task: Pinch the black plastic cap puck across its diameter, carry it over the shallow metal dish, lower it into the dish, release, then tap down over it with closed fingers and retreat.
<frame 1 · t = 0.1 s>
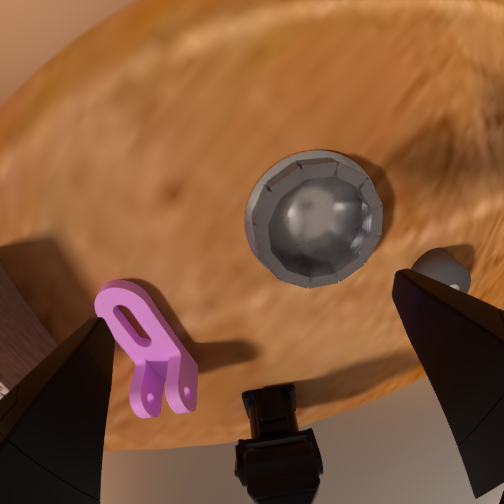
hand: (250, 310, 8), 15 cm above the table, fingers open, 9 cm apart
cap: (429, 272, 27), on the table
bracket: (145, 329, 28), on the table
shallow metal dish: (315, 219, 23), on the table
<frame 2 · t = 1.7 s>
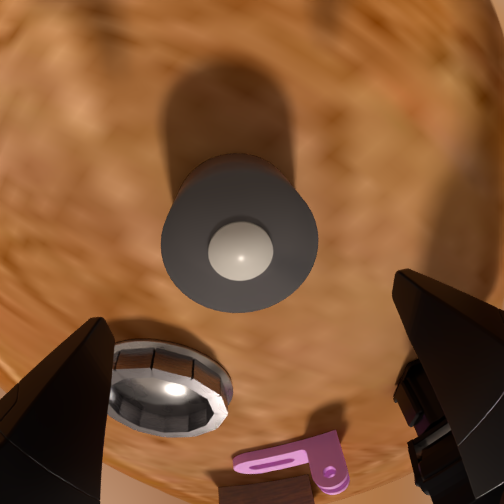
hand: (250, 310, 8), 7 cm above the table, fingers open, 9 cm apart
cap: (235, 212, 15), on the table
tissue box cover: (273, 494, 42), on the table
bracket: (284, 450, 29), on the table
shallow metal dish: (161, 387, 21), on the table
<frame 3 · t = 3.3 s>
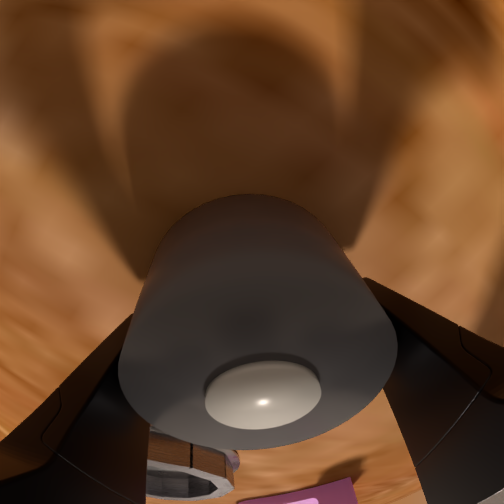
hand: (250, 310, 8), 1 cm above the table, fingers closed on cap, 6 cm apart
cap: (247, 288, 9), on the table, touching gripper
bracket: (293, 494, 24), on the table
shallow metal dish: (155, 457, 15), on the table
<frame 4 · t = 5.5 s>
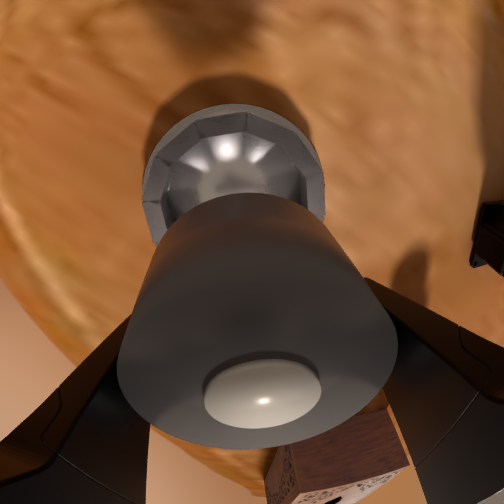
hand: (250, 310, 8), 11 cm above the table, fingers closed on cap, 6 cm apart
cap: (247, 286, 9), point 10 cm above the table, touching gripper
tissue box cover: (316, 452, 39), on the table
shallow metal dish: (234, 195, 18), on the table
when the fingers open (3 cm above the table, at t = 7.7 s): cap drops 2 cm, resting on shallow metal dish.
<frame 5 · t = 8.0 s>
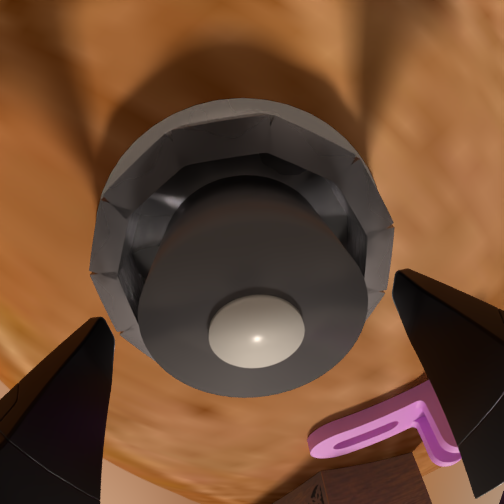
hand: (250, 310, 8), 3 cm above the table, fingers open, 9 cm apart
cap: (245, 256, 11), resting on shallow metal dish
tissue box cover: (324, 490, 32), on the table
bracket: (381, 412, 20), on the table
shallow metal dish: (242, 253, 11), on the table
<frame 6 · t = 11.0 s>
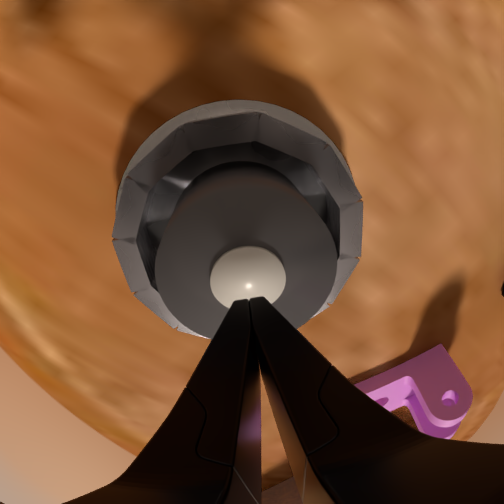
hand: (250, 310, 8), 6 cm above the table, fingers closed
cap: (240, 228, 13), resting on shallow metal dish
tissue box cover: (321, 477, 35), on the table
bracket: (372, 389, 22), on the table
shallow metal dish: (238, 227, 13), on the table
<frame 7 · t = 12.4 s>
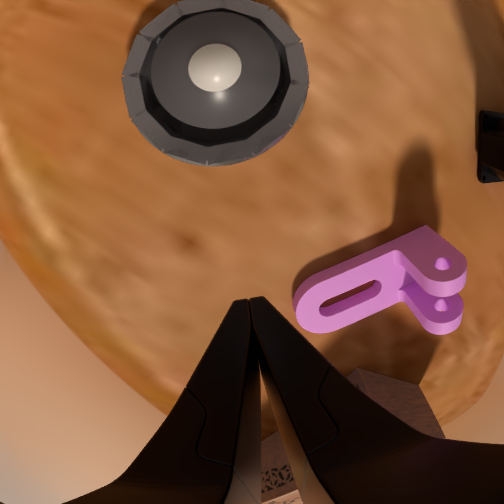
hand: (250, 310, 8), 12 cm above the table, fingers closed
cap: (216, 76, 15), resting on shallow metal dish
tissue box cover: (325, 427, 36), on the table
bracket: (364, 278, 24), on the table
shallow metal dish: (215, 77, 15), on the table
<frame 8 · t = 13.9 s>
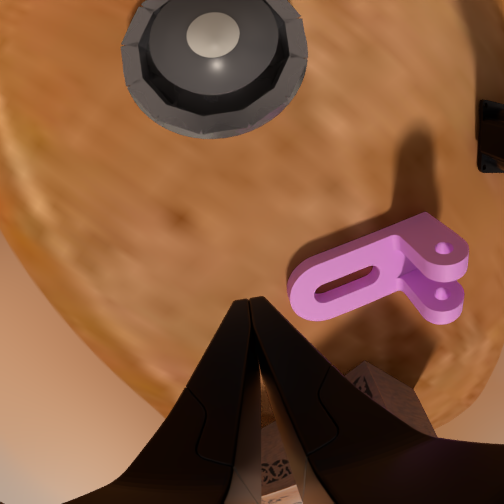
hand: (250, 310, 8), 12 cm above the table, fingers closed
cap: (215, 49, 14), resting on shallow metal dish
tissue box cover: (316, 424, 36), on the table
bracket: (361, 265, 23), on the table
shallow metal dish: (214, 51, 14), on the table
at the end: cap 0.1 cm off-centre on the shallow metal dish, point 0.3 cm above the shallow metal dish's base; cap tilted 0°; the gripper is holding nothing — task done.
